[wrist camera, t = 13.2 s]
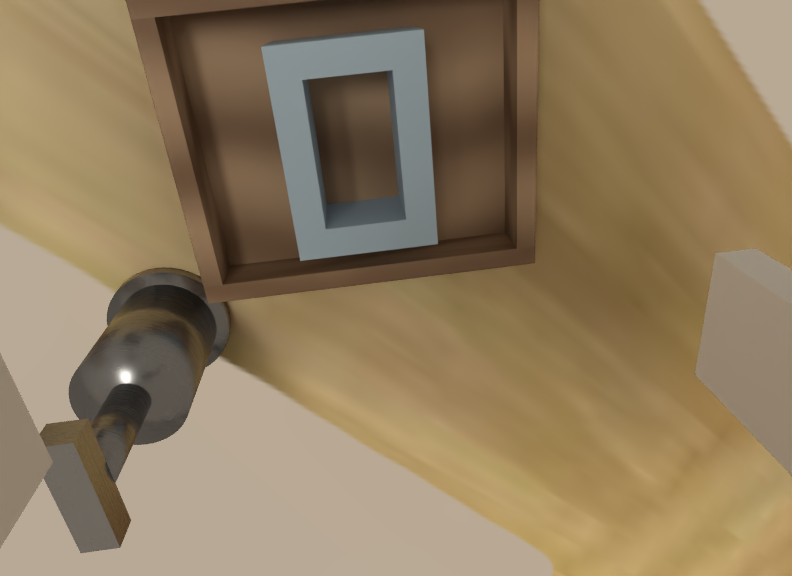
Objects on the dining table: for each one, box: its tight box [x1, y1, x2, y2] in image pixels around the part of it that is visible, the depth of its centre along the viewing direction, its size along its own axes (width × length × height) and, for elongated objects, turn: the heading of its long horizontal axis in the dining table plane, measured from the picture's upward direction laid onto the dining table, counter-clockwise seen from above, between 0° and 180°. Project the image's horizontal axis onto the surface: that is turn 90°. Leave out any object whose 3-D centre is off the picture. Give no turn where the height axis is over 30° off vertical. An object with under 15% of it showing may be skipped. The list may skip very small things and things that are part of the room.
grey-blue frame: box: [261, 26, 438, 261], centre depth 29 cm, size 7×10×4 cm
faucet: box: [40, 268, 231, 553], centre depth 29 cm, size 7×7×14 cm
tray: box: [126, 0, 539, 304], centre depth 30 cm, size 15×18×4 cm
